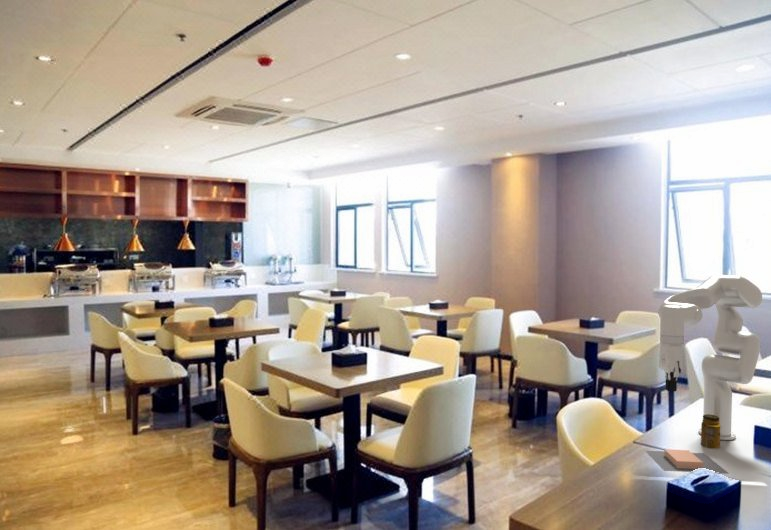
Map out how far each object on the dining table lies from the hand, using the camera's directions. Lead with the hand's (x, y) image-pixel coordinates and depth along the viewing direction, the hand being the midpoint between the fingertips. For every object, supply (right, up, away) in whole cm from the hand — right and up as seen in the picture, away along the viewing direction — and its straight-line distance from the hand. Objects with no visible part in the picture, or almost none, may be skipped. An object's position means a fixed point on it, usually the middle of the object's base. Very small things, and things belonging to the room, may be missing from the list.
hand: (671, 390), depth 201 cm
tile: (-1, -20, -6) cm, 21 cm away
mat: (-1, -23, -10) cm, 25 cm away
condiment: (+16, -23, +5) cm, 28 cm away
